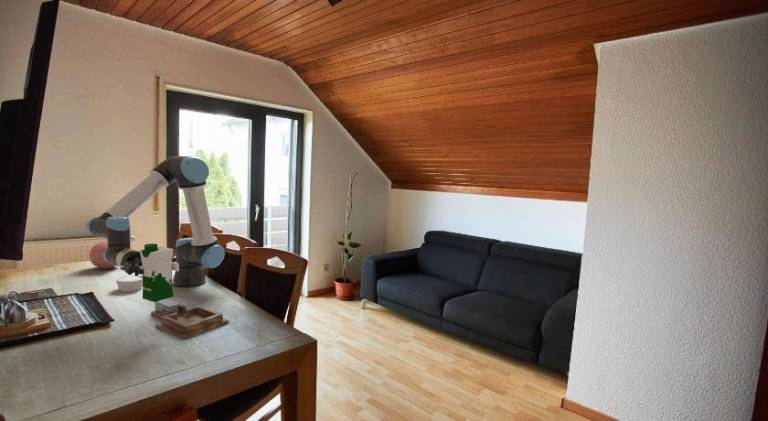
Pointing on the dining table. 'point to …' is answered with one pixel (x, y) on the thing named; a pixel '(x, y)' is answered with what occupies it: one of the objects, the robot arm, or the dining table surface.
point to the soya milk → (157, 272)
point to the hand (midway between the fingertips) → (164, 270)
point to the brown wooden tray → (189, 320)
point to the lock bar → (167, 306)
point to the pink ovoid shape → (99, 256)
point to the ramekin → (129, 283)
